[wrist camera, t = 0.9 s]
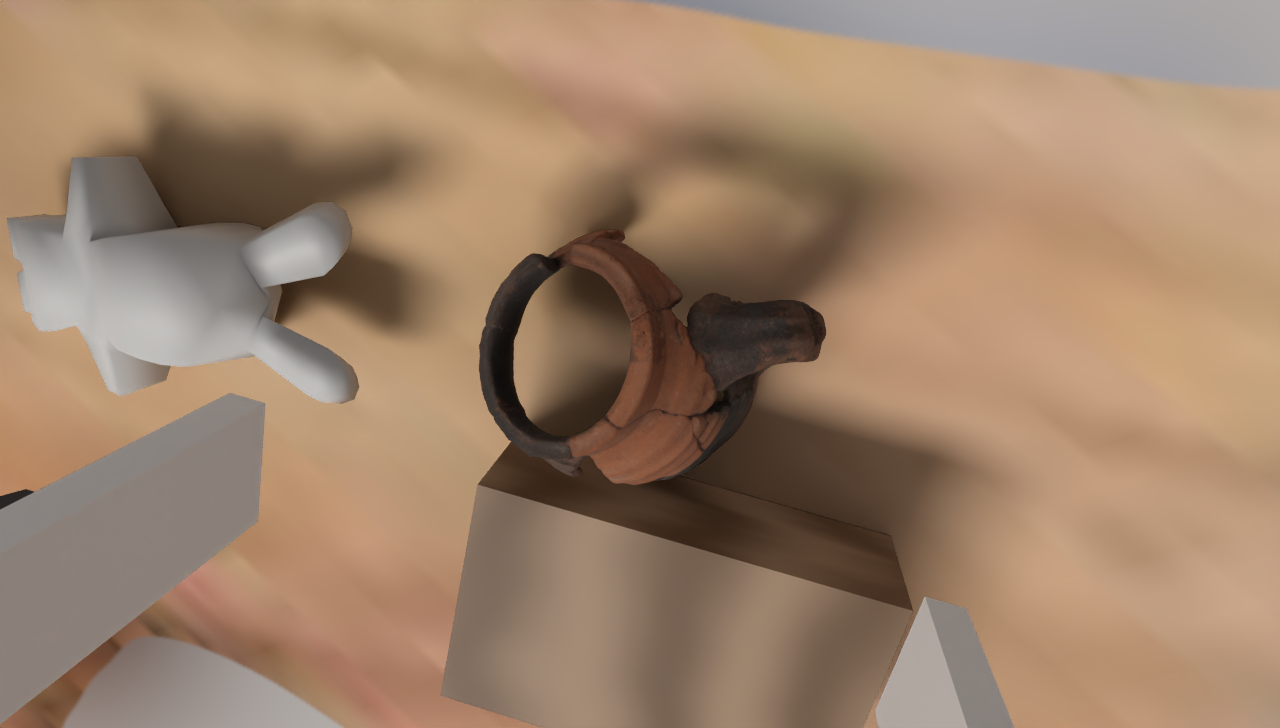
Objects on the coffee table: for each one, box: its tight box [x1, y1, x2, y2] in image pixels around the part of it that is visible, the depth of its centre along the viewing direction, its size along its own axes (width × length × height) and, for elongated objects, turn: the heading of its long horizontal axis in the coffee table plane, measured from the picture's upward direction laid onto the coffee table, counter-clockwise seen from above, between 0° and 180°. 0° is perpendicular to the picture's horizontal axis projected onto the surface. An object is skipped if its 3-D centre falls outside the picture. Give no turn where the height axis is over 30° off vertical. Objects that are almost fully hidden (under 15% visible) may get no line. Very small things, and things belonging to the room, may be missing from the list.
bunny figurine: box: [7, 156, 359, 404], centre depth 30 cm, size 10×5×15 cm
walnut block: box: [441, 442, 913, 728], centre depth 31 cm, size 16×10×5 cm, turn 77°
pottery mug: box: [479, 229, 826, 485], centre depth 27 cm, size 12×10×8 cm
